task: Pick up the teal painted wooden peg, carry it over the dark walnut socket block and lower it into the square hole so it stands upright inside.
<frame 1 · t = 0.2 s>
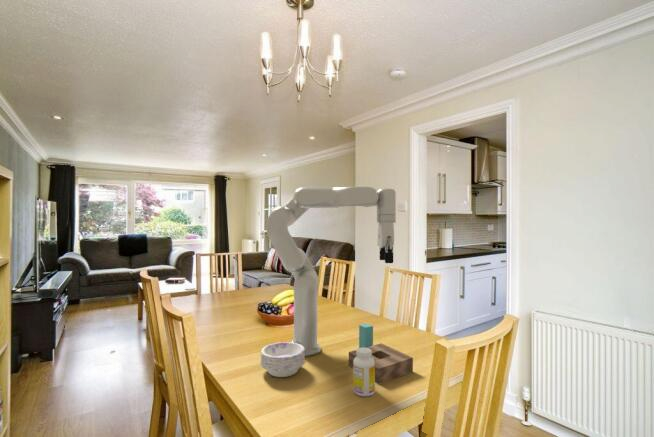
hand: (386, 261, 134), 36 cm above the table, tool pointing down, fingers open, 9 cm apart
peg: (365, 349, 135), on the table
paper bowls: (282, 372, 116), on the table
socket block: (380, 368, 118), on the table
supplement bottle: (363, 392, 102), on the table
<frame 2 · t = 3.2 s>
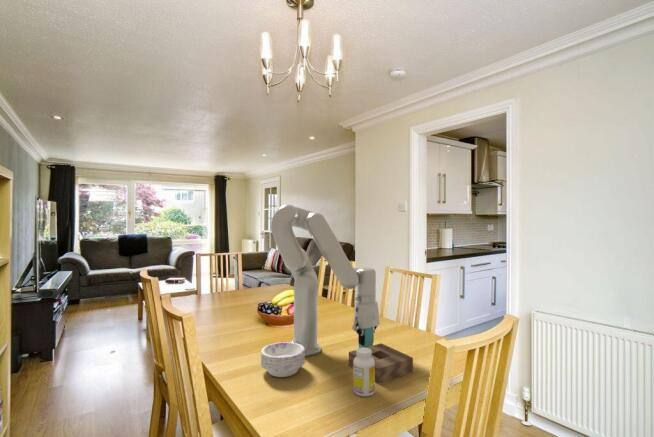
hand: (366, 343, 135), 3 cm above the table, tool pointing down, fingers closed on peg, 4 cm apart
peg: (365, 349, 135), on the table, touching gripper
everything else where it was.
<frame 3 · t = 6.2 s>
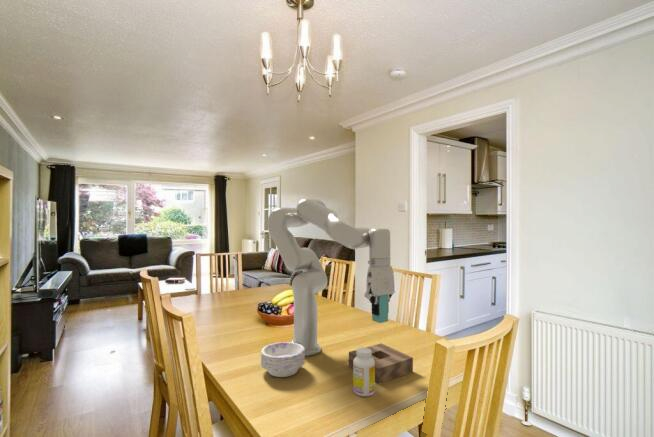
hand: (380, 313, 119), 20 cm above the table, tool pointing down, fingers closed on peg, 4 cm apart
peg: (380, 320, 119), point 17 cm above the table, touching gripper
everything else where it was.
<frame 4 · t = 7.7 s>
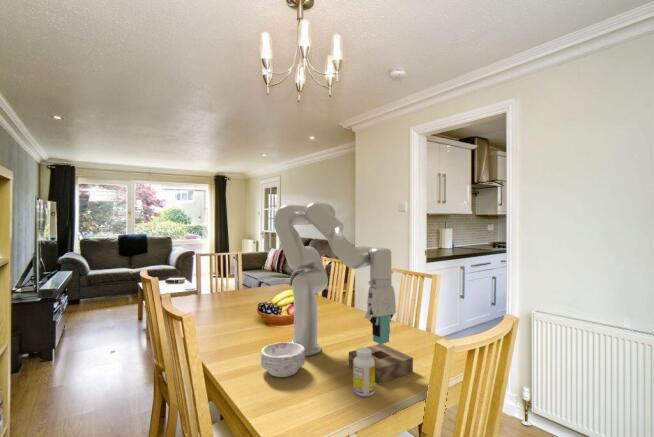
hand: (381, 333, 118), 13 cm above the table, tool pointing down, fingers closed on peg, 4 cm apart
peg: (381, 341, 118), point 10 cm above the table, touching gripper
everything else where it was.
when the fingers open (6 cm above the table, at t = 9.1 s): peg drops 4 cm, resting in socket block.
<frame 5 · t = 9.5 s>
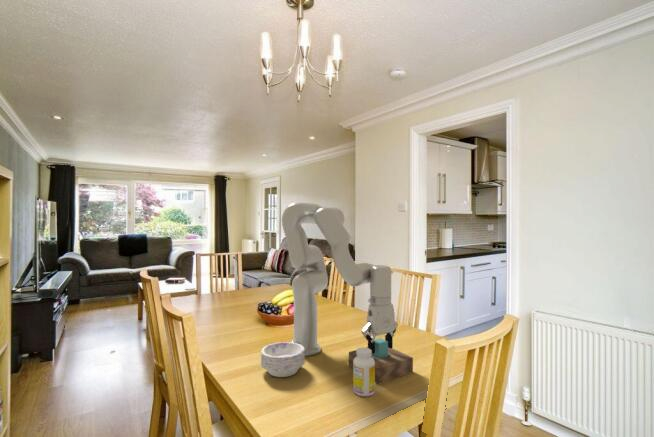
hand: (380, 349, 118), 7 cm above the table, tool pointing down, fingers open, 7 cm apart
peg: (379, 368, 118), resting in socket block
everything else where it was.
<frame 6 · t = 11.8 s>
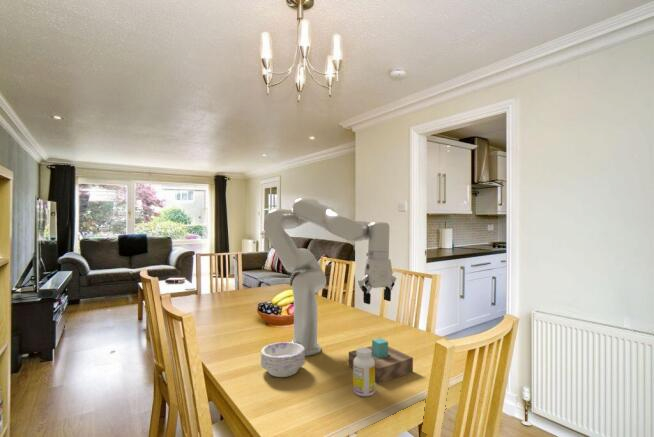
hand: (377, 301, 122), 23 cm above the table, tool pointing down, fingers open, 9 cm apart
nothing on the table moved.
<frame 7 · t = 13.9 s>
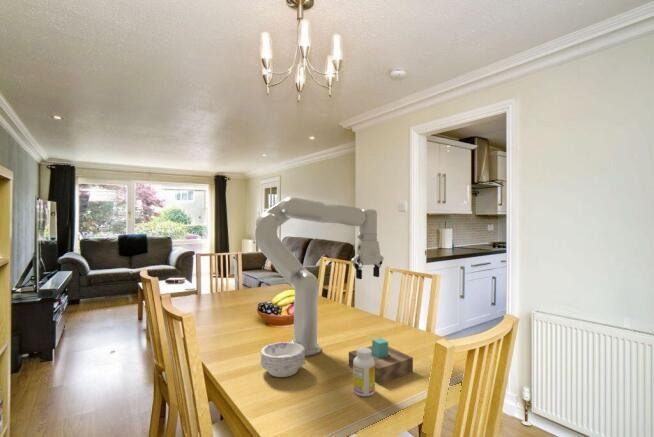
hand: (367, 277, 142), 28 cm above the table, tool pointing down, fingers open, 9 cm apart
nothing on the table moved.
at the end: peg 0.1 cm off-centre on the socket block, point 0.0 cm above the socket block's base; peg tilted 0°; the gripper is holding nothing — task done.
